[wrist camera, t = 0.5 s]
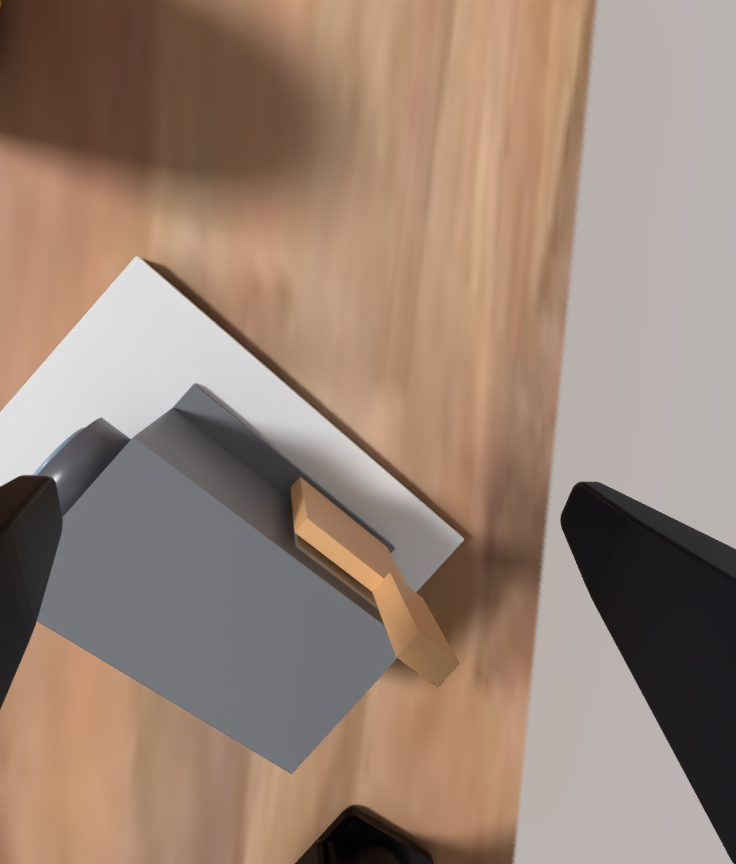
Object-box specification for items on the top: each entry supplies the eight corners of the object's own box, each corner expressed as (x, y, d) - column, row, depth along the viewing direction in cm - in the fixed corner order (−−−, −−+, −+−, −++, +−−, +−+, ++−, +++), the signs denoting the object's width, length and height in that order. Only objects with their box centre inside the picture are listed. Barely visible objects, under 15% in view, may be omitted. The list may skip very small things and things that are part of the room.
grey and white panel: (458, 532, 24) (527, 608, 17) (278, 730, 24) (280, 878, 18) (142, 258, 19) (73, 221, 13) (-76, 508, 20) (-253, 598, 13)
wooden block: (392, 542, 22) (459, 663, 14) (378, 557, 22) (437, 687, 14) (305, 471, 20) (323, 560, 12) (290, 487, 20) (299, 586, 12)
